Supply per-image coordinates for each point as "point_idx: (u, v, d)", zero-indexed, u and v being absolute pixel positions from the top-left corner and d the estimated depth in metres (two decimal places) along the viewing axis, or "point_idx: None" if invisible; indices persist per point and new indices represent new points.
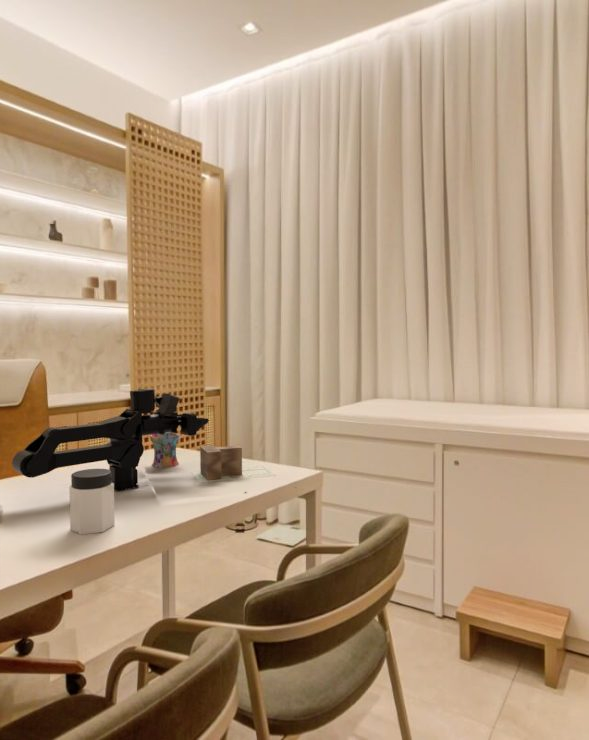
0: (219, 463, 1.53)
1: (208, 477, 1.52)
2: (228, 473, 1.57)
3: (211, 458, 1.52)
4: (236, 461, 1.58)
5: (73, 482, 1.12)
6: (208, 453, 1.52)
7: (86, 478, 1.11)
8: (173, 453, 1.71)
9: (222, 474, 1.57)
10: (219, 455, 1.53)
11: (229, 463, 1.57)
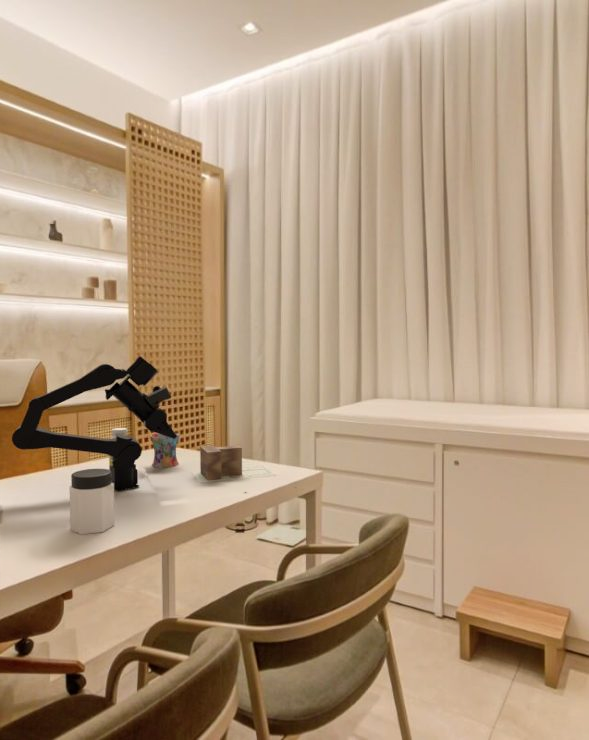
0: (219, 463, 1.53)
1: (208, 477, 1.52)
2: (228, 473, 1.57)
3: (211, 458, 1.52)
4: (236, 461, 1.58)
5: (73, 482, 1.12)
6: (208, 453, 1.52)
7: (86, 478, 1.11)
8: (173, 453, 1.71)
9: (222, 474, 1.57)
10: (219, 455, 1.53)
11: (229, 463, 1.57)
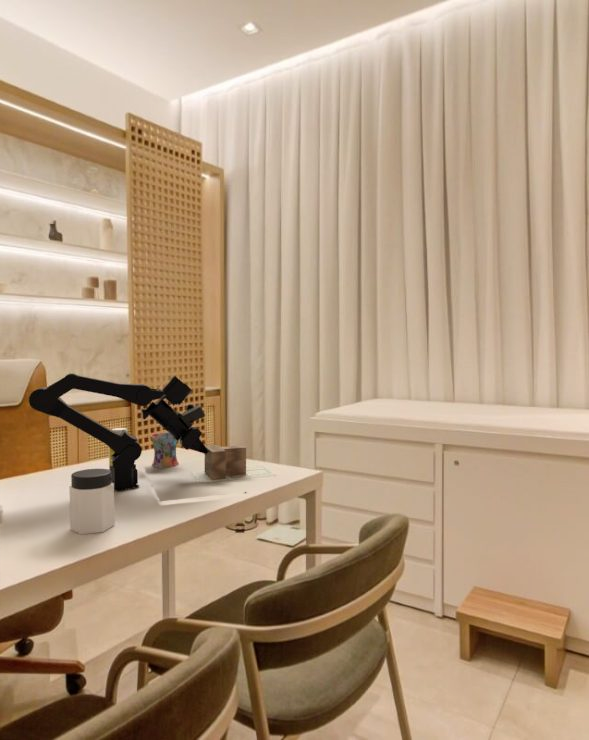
0: (223, 463, 1.53)
1: (212, 476, 1.52)
2: (232, 472, 1.58)
3: (216, 457, 1.53)
4: (240, 461, 1.59)
5: (73, 482, 1.12)
6: (213, 452, 1.52)
7: (86, 478, 1.11)
8: (173, 453, 1.71)
9: (226, 474, 1.57)
10: (223, 455, 1.53)
11: (233, 463, 1.58)
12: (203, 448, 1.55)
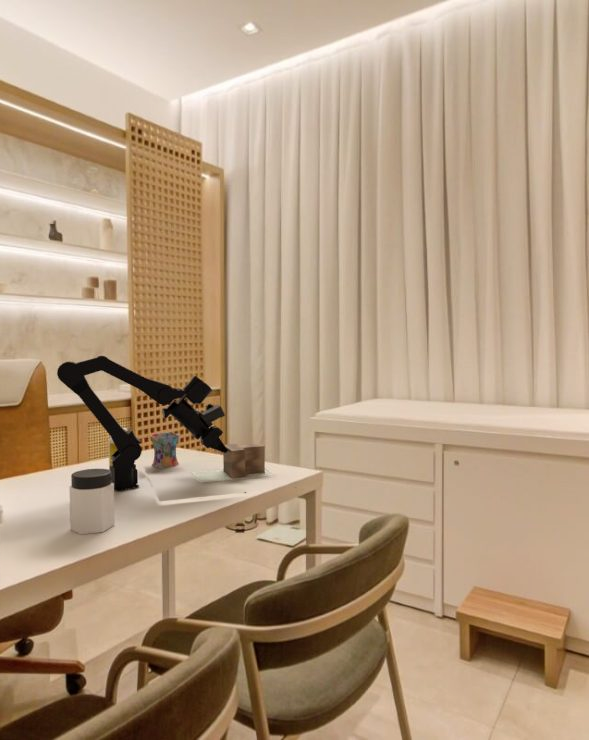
0: (243, 461, 1.56)
1: (232, 475, 1.55)
2: (251, 471, 1.60)
3: (235, 456, 1.55)
4: (259, 459, 1.61)
5: (73, 482, 1.12)
6: (232, 451, 1.54)
7: (86, 478, 1.11)
8: (173, 453, 1.71)
9: (245, 472, 1.59)
10: (243, 453, 1.55)
11: (252, 461, 1.60)
12: (222, 447, 1.57)
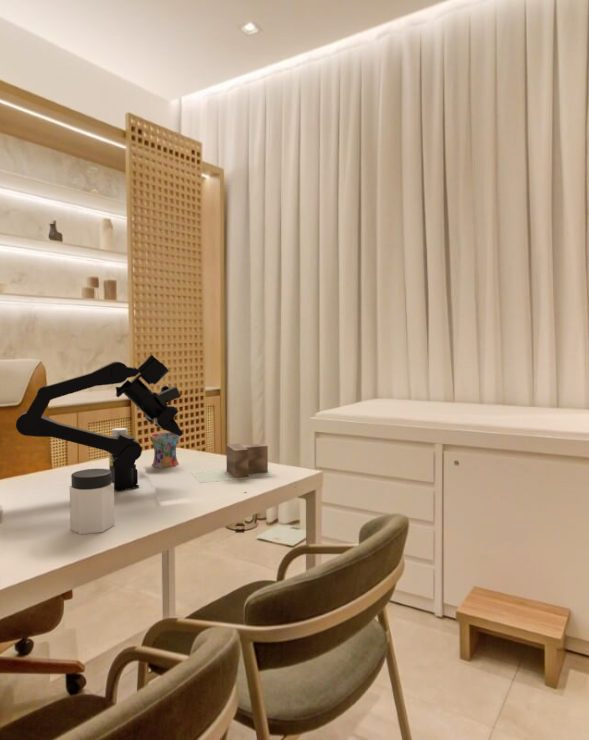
0: (246, 461, 1.56)
1: (235, 475, 1.55)
2: (254, 470, 1.60)
3: (238, 456, 1.55)
4: (262, 459, 1.61)
5: (73, 482, 1.12)
6: (236, 451, 1.55)
7: (86, 478, 1.11)
8: (173, 453, 1.71)
9: (248, 472, 1.60)
10: (246, 453, 1.56)
11: (255, 461, 1.60)
12: (177, 430, 1.53)
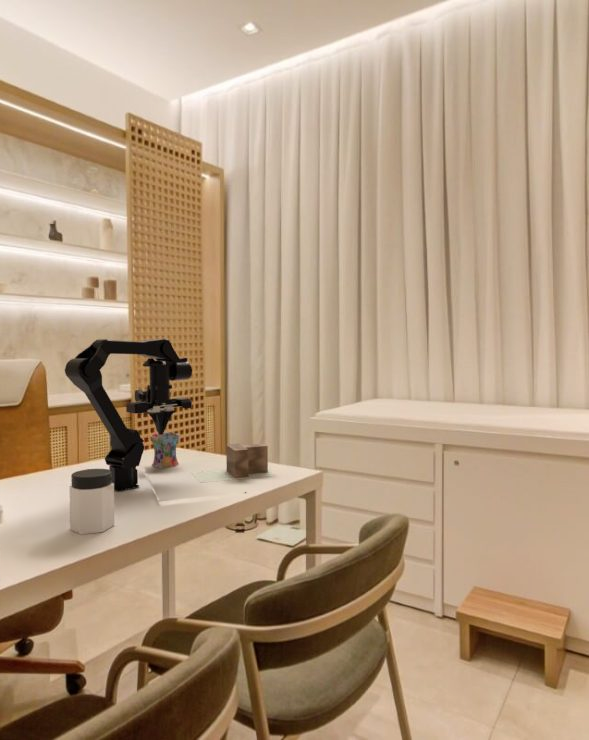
0: (246, 461, 1.56)
1: (235, 475, 1.55)
2: (254, 470, 1.60)
3: (238, 456, 1.55)
4: (262, 459, 1.61)
5: (73, 482, 1.12)
6: (236, 451, 1.55)
7: (86, 478, 1.11)
8: (173, 453, 1.71)
9: (248, 472, 1.60)
10: (246, 453, 1.56)
11: (255, 461, 1.60)
12: None
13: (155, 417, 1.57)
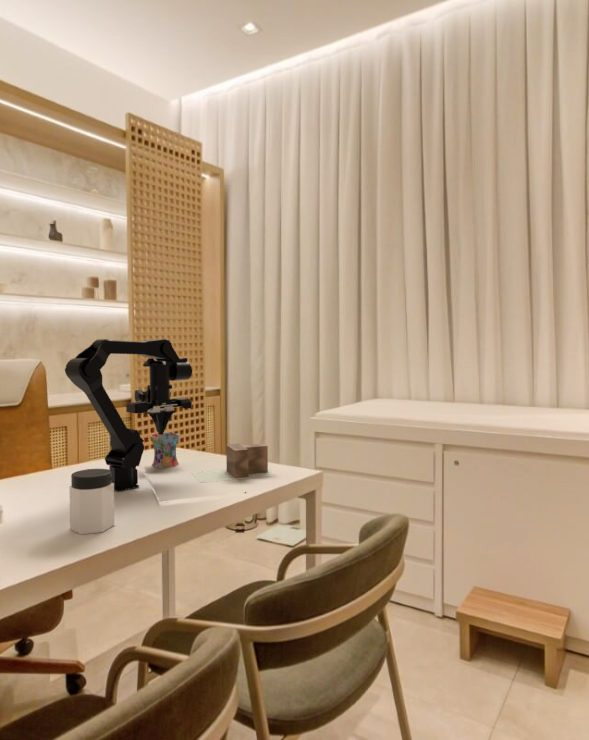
0: (246, 461, 1.56)
1: (235, 475, 1.55)
2: (254, 470, 1.60)
3: (238, 456, 1.55)
4: (262, 459, 1.61)
5: (73, 482, 1.12)
6: (236, 451, 1.55)
7: (86, 478, 1.11)
8: (173, 453, 1.71)
9: (248, 472, 1.60)
10: (246, 453, 1.56)
11: (255, 461, 1.60)
12: None
13: (155, 417, 1.57)
